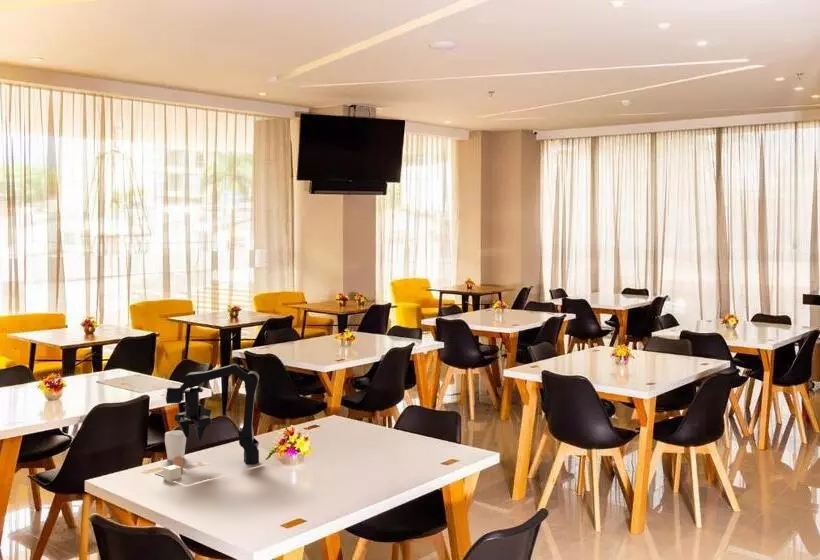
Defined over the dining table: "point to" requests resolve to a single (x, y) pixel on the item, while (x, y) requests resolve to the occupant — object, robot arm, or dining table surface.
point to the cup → (175, 443)
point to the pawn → (178, 461)
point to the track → (187, 467)
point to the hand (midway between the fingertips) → (193, 439)
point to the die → (171, 473)
